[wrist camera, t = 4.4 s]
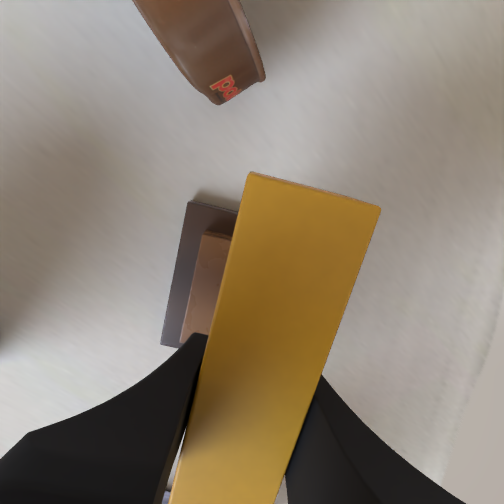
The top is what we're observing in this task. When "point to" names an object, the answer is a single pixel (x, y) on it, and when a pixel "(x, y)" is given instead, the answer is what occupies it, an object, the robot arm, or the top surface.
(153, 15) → the tin
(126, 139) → the top surface
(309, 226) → the bar
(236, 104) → the top surface
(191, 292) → the brown stepped stand
